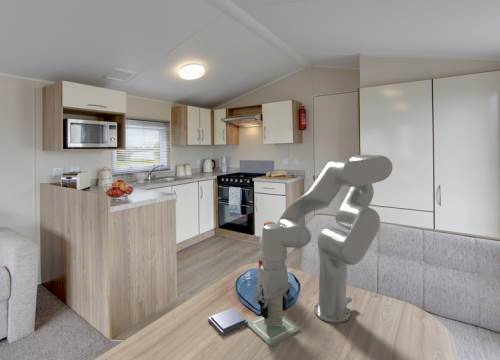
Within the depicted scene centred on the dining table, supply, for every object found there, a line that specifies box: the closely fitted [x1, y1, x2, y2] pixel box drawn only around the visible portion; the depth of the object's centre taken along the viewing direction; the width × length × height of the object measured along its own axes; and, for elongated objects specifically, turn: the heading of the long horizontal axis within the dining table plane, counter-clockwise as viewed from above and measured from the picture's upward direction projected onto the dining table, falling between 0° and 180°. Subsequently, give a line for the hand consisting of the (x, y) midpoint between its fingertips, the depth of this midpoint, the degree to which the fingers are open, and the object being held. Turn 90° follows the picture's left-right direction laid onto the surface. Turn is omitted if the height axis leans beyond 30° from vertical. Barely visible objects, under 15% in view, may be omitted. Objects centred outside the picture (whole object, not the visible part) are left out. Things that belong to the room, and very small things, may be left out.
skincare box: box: [263, 289, 284, 326], centre depth 94 cm, size 6×4×12 cm
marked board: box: [246, 315, 301, 347], centre depth 95 cm, size 13×13×1 cm
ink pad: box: [208, 307, 249, 337], centre depth 98 cm, size 10×10×2 cm
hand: (273, 312), depth 95 cm, fingers closed on skincare box, 7 cm apart
